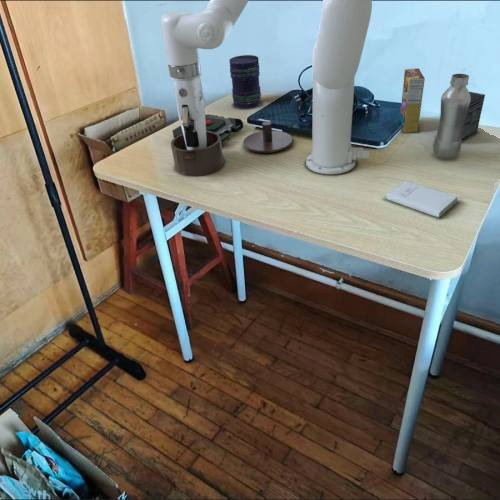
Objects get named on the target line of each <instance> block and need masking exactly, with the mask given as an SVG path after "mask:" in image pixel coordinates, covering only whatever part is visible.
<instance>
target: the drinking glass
mask: <svg viewBox="0 0 500 500" xmlns="http://www.w3.org/2000/svg"><path fill="white" fill-rule="evenodd" d="M175 104H177V101H176V103H175ZM176 109H177V112H178V108H177V107H176ZM200 110H201V118H200V120H199V121H196V120H195V125H196V131H197V133H198V140H199V147H187V145H186V147H187V150H198V149H203V148H207V137H206V118H205V115H206V107H205V108H204V103H203V98H202V99H201V100H200ZM177 116H178V121H179V124H180V126H181V128H182V132H183V136H184V140H185V143H186V139H185V133H184V128H183V125H182V121H181V120H180V118H179V114H178V113H177ZM182 117H183V115H182ZM182 117H181V118H182ZM190 119H193V118H192V117H191V116H189V120H190ZM189 124H191V125H192V122H189Z"/></svg>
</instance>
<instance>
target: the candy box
mask: <svg viewBox="0 0 500 500" xmlns="http://www.w3.org/2000/svg"><path fill="white" fill-rule="evenodd" d="M425 80H426V79H425V77H424V75H423V74H422V72H421V70H420V68H405V69H404V74H403V85H402V95H401V105H400V113H402V115H403V118H404V125H403V127H402V126H401V128H402V133H404V134H405V133H418V131H419V124H420V119H421V118H420V117H421V109H422V104H423V103H422V102H423V95H424V89H425V88H424V87H425V82H426V81H425Z"/></svg>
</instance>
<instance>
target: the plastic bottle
mask: <svg viewBox="0 0 500 500" xmlns="http://www.w3.org/2000/svg"><path fill="white" fill-rule="evenodd" d="M469 79H470V75H468V74H466V73H453V74H452V75H451V79H450V81H449V85H450V86H449V87H448V88H447V89H446V90H445V91H444V92H443V93H442V95H441V97H440V116H439V122H440V123H438V127H439V128H438V127H437V132H436V136H435V138H434V141H433V144H432V153H433V154H434V156H435V157H438V158H441V159H445V160H449V159H454V158H456V157H457V156H458V155H459V154H460V152H461V150H462V141H461V135H462V127H463V122H464V119H465V115H466V112H467V110H468V107H469V104H470V101H471V97H470V93H469V92H470V91H469V89H468V88H467V86H468V85H469Z"/></svg>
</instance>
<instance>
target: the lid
mask: <svg viewBox="0 0 500 500" xmlns="http://www.w3.org/2000/svg"><path fill="white" fill-rule="evenodd" d="M261 127H262V131H256V132H254V133H251V134H249V135H247V136H245V138H244V139H243V142H242V143H243V147H244V148H245V149H247V150H248V151H251V152H254V153H261V154H269V153H275V152H276V153H277V152H280V151H283V150H286V149H287V148H289V147H290V146H291V145H292V144H293V137H292V135H290V134H289V133H287V132H284V131H281V130H273V125H272V122H271V121H263V122H262V123H261Z"/></svg>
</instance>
